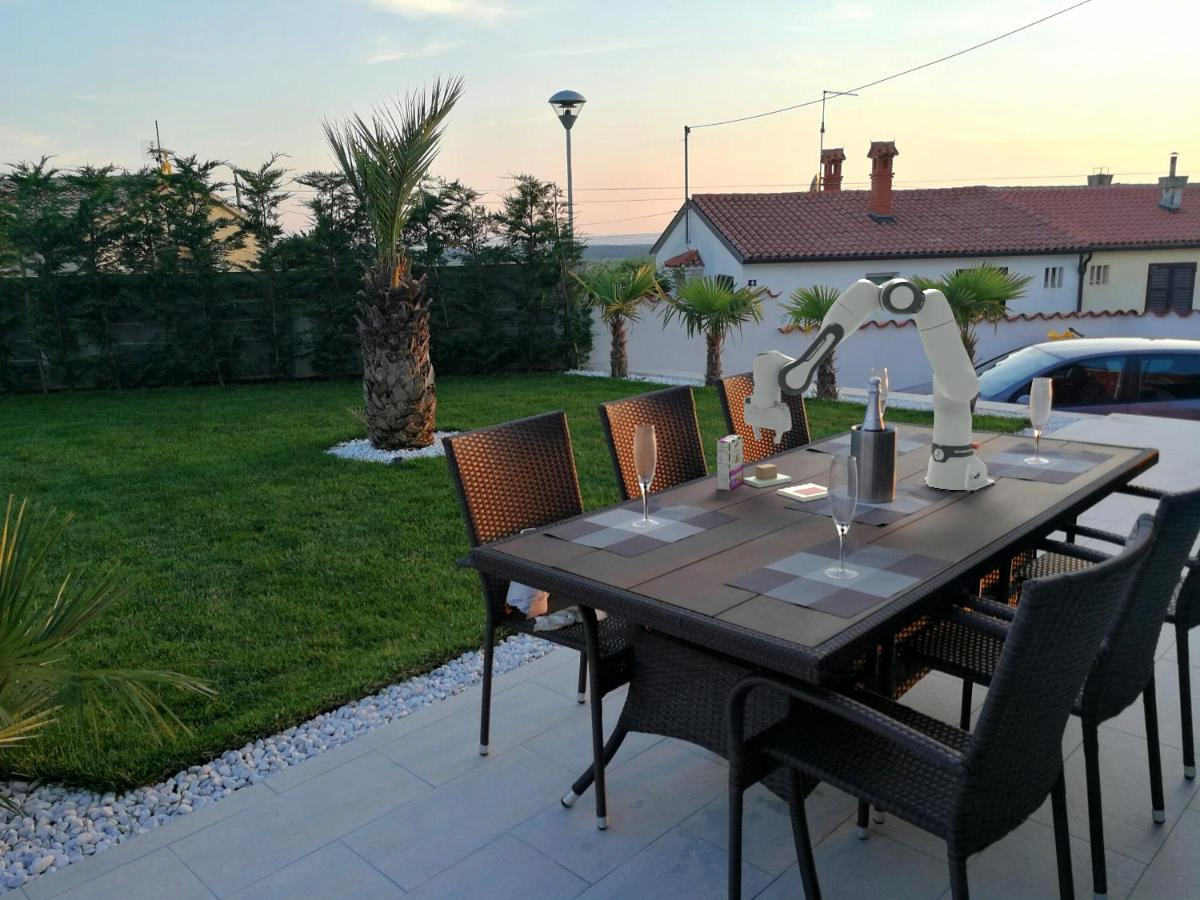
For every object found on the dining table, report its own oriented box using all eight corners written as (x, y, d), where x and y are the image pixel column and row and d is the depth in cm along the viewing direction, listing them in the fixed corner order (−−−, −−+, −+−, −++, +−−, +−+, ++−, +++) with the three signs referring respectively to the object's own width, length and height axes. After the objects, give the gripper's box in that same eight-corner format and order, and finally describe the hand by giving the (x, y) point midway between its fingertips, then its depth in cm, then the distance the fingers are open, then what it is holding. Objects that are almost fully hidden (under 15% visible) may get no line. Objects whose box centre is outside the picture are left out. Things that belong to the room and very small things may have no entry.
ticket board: (810, 487, 273) (810, 482, 273) (837, 495, 263) (837, 490, 263) (777, 494, 267) (777, 489, 266) (803, 502, 256) (803, 497, 256)
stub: (775, 476, 288) (775, 461, 287) (791, 481, 281) (791, 465, 280) (743, 482, 281) (743, 466, 280) (758, 487, 274) (758, 471, 273)
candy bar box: (729, 481, 284) (729, 434, 281) (743, 483, 281) (743, 435, 278) (716, 489, 275) (716, 440, 271) (730, 491, 272) (730, 441, 269)
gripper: (796, 402, 269) (796, 444, 271) (754, 396, 286) (755, 435, 289) (780, 404, 266) (781, 447, 268) (740, 398, 283) (740, 438, 286)
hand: (767, 441), depth 279 cm, fingers open, 8 cm apart
